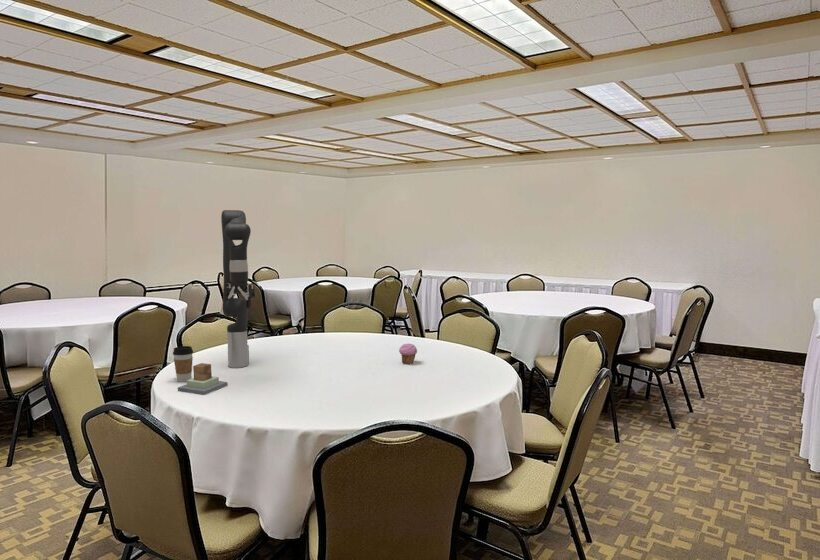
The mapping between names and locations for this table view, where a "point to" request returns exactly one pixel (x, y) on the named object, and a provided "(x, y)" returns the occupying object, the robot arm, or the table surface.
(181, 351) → the coffee cup
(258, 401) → the table surface
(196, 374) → the walnut block
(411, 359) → the cupcake
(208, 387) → the stack base
